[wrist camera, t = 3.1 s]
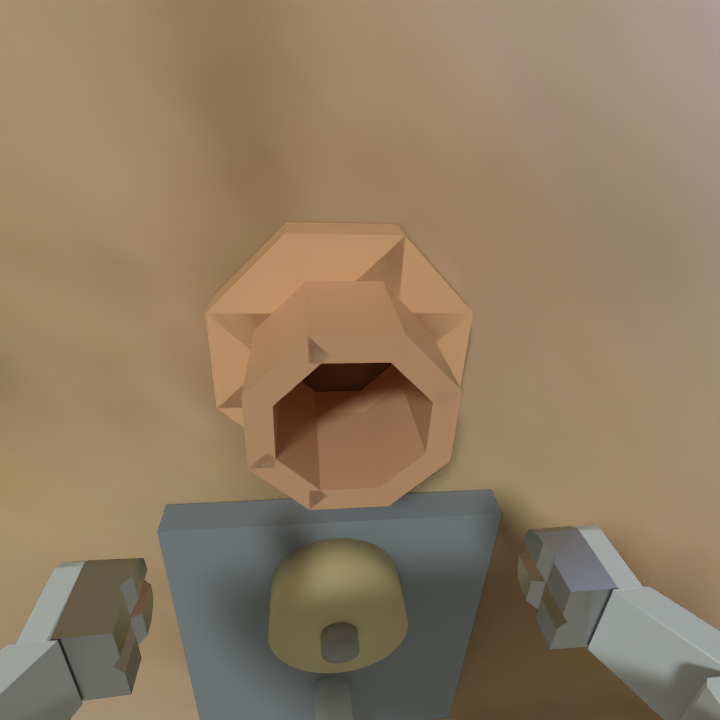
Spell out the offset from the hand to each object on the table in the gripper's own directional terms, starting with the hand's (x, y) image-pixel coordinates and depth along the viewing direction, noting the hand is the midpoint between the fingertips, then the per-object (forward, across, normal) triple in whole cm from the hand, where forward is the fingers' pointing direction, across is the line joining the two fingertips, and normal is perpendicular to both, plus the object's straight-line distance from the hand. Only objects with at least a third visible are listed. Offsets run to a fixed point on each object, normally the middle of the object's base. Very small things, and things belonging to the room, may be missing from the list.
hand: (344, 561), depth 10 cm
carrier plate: (+10, -1, +16) cm, 19 cm away
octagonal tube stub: (+9, -1, -1) cm, 9 cm away
